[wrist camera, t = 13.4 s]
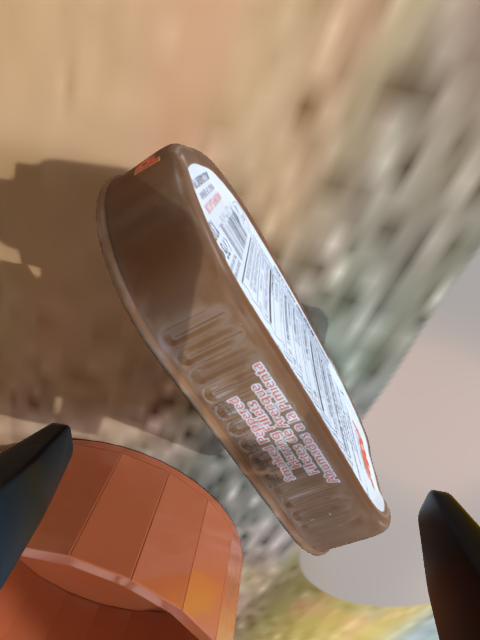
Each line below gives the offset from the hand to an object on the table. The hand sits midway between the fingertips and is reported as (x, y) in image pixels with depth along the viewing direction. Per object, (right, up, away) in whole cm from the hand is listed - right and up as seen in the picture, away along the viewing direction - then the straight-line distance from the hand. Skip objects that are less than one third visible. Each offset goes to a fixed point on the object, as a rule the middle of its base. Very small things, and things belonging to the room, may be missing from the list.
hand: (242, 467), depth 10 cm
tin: (+2, +4, +8) cm, 9 cm away
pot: (-9, -12, +18) cm, 23 cm away
